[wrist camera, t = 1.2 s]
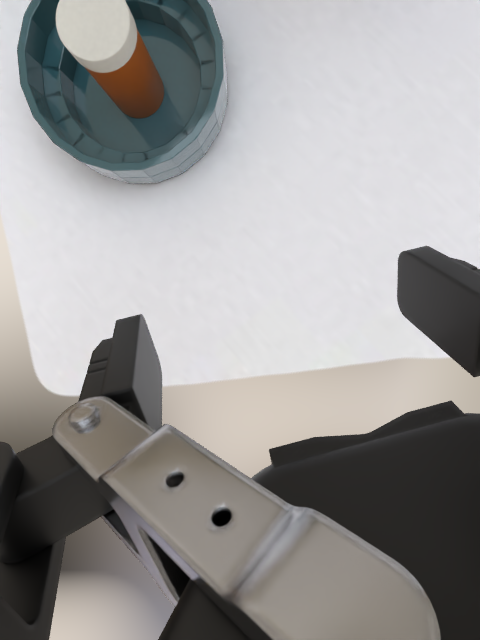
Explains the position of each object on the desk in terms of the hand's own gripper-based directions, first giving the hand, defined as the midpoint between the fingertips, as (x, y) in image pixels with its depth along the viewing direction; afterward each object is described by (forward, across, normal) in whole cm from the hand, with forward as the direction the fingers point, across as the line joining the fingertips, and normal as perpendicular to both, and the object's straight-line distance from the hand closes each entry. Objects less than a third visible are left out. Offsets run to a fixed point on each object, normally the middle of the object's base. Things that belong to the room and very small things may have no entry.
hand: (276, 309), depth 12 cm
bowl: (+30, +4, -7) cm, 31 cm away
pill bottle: (+30, +4, -7) cm, 31 cm away
